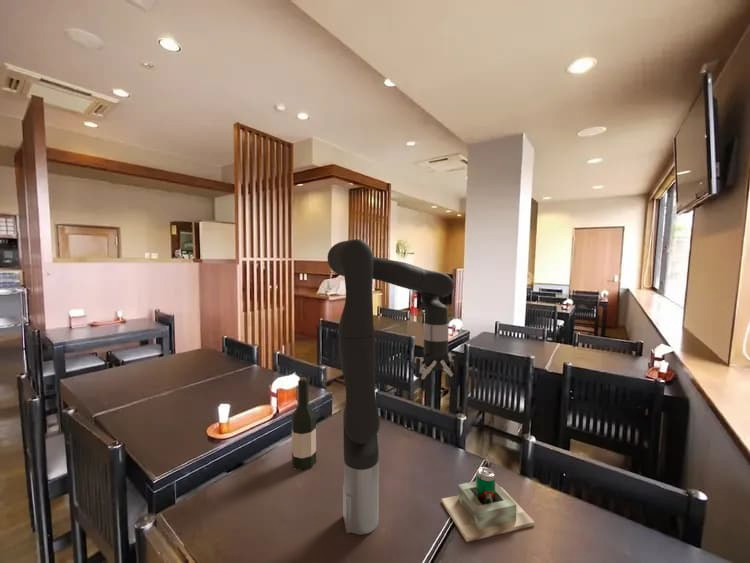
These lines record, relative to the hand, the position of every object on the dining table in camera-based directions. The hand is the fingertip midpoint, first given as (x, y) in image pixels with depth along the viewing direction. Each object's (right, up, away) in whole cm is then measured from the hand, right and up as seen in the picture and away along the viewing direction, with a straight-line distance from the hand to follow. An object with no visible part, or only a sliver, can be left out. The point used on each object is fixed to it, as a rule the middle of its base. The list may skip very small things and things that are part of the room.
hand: (435, 388), depth 102 cm
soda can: (+12, -31, -12) cm, 35 cm away
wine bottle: (-44, -30, +11) cm, 54 cm away
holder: (+12, -31, -12) cm, 35 cm away
